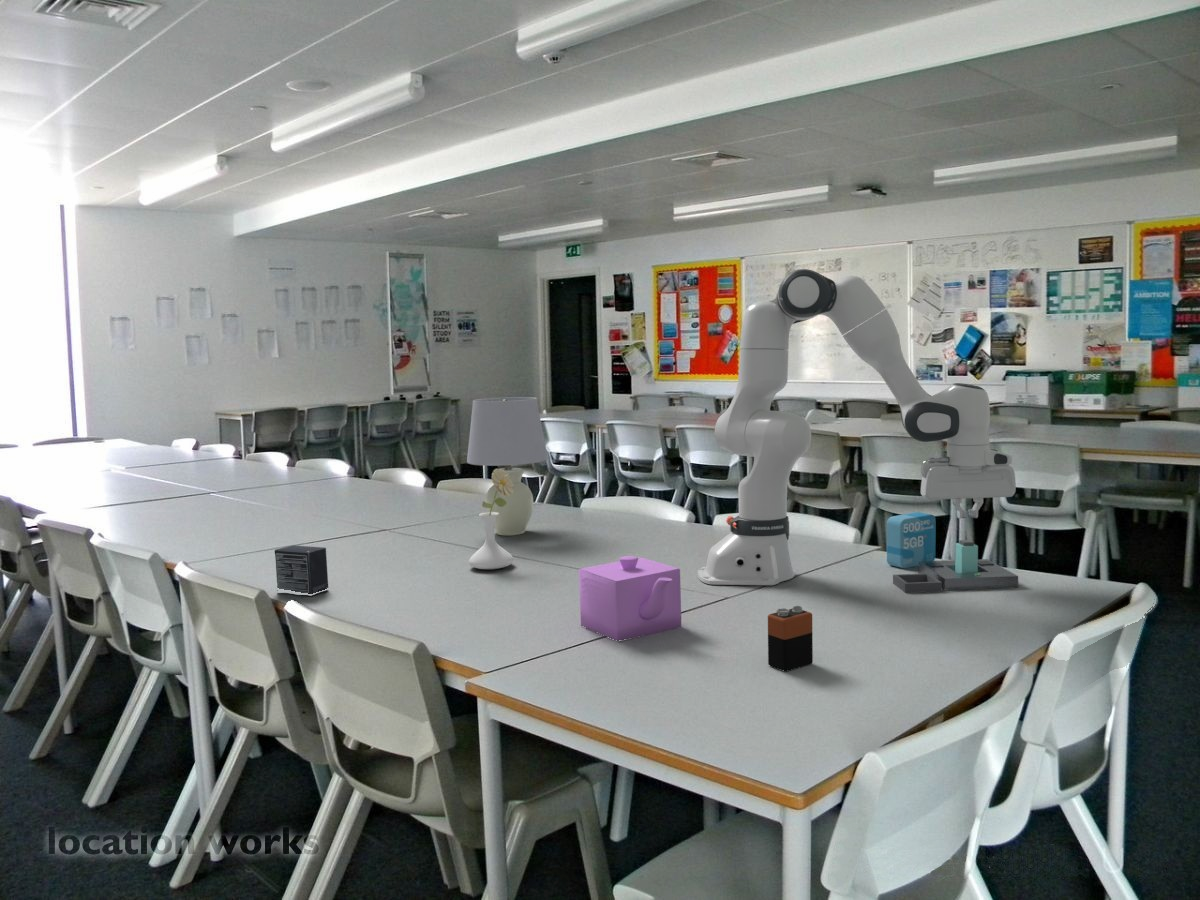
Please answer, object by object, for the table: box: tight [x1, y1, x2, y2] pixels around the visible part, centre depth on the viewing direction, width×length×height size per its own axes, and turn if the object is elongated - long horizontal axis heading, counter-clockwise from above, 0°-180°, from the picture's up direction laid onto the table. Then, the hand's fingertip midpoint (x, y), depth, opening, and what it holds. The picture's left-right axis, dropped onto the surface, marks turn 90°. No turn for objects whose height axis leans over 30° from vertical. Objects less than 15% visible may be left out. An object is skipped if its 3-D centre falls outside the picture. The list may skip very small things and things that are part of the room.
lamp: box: [466, 396, 549, 537], centre depth 281 cm, size 24×24×40 cm
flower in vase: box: [468, 468, 515, 570], centre depth 239 cm, size 13×11×25 cm
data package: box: [886, 511, 937, 569], centre depth 228 cm, size 12×4×12 cm, turn 120°
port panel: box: [918, 558, 1019, 591], centre depth 213 cm, size 16×16×3 cm
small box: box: [274, 544, 329, 594], centre depth 221 cm, size 11×6×10 cm, turn 65°
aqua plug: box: [954, 539, 979, 573], centre depth 213 cm, size 4×4×9 cm
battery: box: [767, 605, 814, 672], centre depth 161 cm, size 4×7×10 cm, turn 123°
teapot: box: [578, 555, 682, 641], centre depth 185 cm, size 15×25×14 cm, turn 33°
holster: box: [892, 573, 943, 594], centre depth 208 cm, size 8×8×2 cm
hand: (967, 517), depth 212 cm, fingers closed
